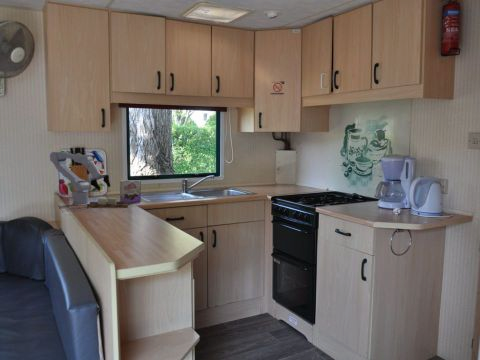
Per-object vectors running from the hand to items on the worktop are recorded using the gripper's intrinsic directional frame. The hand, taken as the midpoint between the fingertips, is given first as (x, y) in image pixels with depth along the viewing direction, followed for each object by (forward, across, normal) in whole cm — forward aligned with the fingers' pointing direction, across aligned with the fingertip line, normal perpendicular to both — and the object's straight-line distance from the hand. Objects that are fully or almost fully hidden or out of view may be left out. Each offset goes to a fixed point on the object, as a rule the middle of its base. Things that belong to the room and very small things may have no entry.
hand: (104, 188), depth 282 cm
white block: (+9, -5, +6) cm, 12 cm away
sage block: (+12, 0, +4) cm, 13 cm away
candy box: (+13, +19, +12) cm, 26 cm away
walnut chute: (+12, -2, +5) cm, 13 cm away
